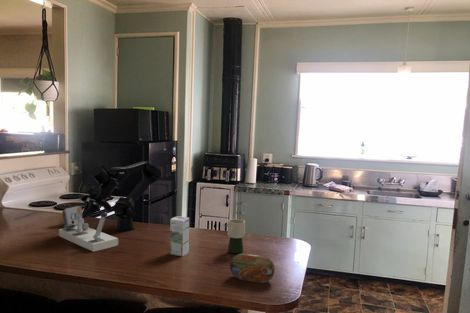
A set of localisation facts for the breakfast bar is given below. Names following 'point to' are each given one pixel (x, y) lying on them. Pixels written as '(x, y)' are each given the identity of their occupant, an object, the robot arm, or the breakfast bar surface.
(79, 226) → the copper ball joystick
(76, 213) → the electrical switch
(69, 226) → the block
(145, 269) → the breakfast bar surface
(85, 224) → the push button
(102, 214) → the lever
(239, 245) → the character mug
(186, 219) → the syrup box
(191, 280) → the breakfast bar surface
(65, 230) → the control panel
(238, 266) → the tin
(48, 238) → the breakfast bar surface
